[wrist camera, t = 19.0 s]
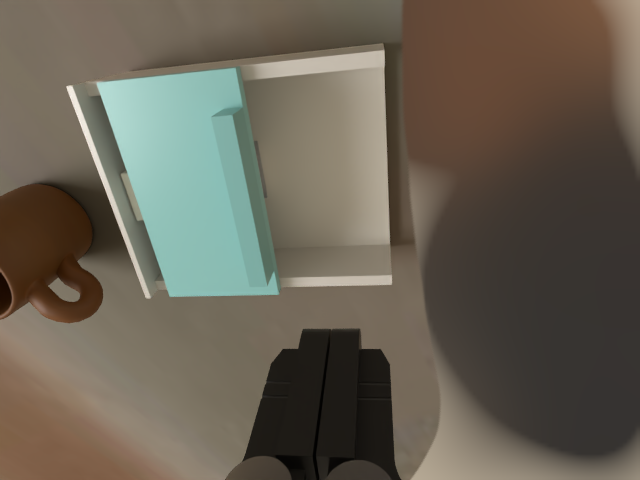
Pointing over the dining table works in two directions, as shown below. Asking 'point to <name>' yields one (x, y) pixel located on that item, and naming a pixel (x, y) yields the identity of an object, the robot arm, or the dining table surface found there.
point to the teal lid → (196, 179)
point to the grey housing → (286, 164)
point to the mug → (45, 253)
